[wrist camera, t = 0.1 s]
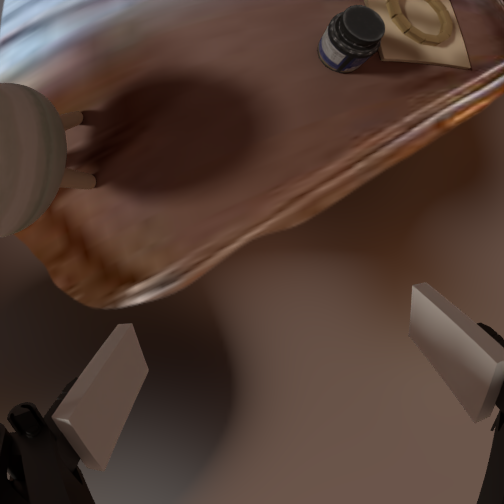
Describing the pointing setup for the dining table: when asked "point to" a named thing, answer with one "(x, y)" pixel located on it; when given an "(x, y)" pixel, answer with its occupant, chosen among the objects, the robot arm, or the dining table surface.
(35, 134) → the planter
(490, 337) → the robot arm
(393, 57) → the square socket plate
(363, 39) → the pill bottle
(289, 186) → the dining table surface
